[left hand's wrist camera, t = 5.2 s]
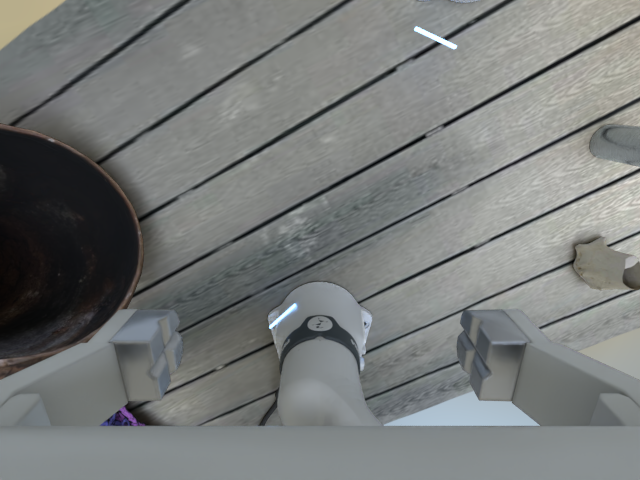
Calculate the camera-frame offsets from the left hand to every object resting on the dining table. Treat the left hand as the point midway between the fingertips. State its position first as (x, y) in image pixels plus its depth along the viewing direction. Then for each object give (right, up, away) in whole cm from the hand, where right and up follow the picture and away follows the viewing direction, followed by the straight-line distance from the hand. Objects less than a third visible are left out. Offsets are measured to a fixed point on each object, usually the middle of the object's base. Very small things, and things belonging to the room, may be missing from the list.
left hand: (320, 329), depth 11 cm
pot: (-44, +5, +50) cm, 67 cm away
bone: (+46, -1, +52) cm, 69 cm away
